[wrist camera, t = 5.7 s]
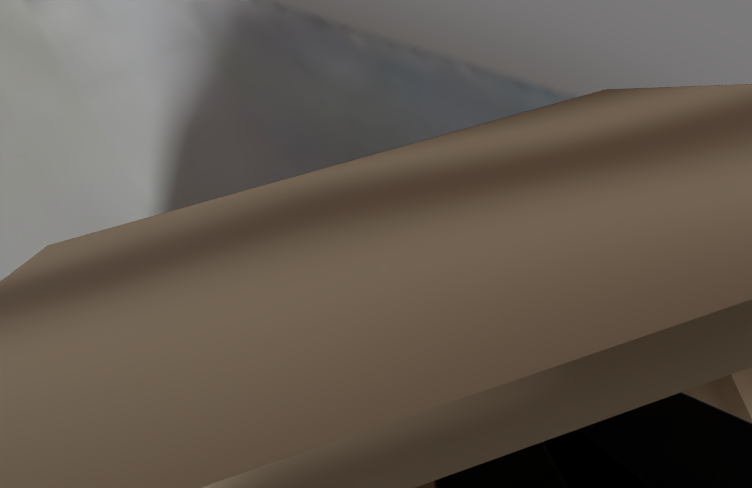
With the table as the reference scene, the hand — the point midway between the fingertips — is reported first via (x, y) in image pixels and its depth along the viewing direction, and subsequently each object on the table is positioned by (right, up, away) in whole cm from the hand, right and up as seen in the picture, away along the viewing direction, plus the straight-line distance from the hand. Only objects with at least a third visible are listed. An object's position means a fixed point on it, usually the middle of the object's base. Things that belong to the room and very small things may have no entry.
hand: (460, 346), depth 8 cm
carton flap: (-1, +2, 0) cm, 2 cm away
